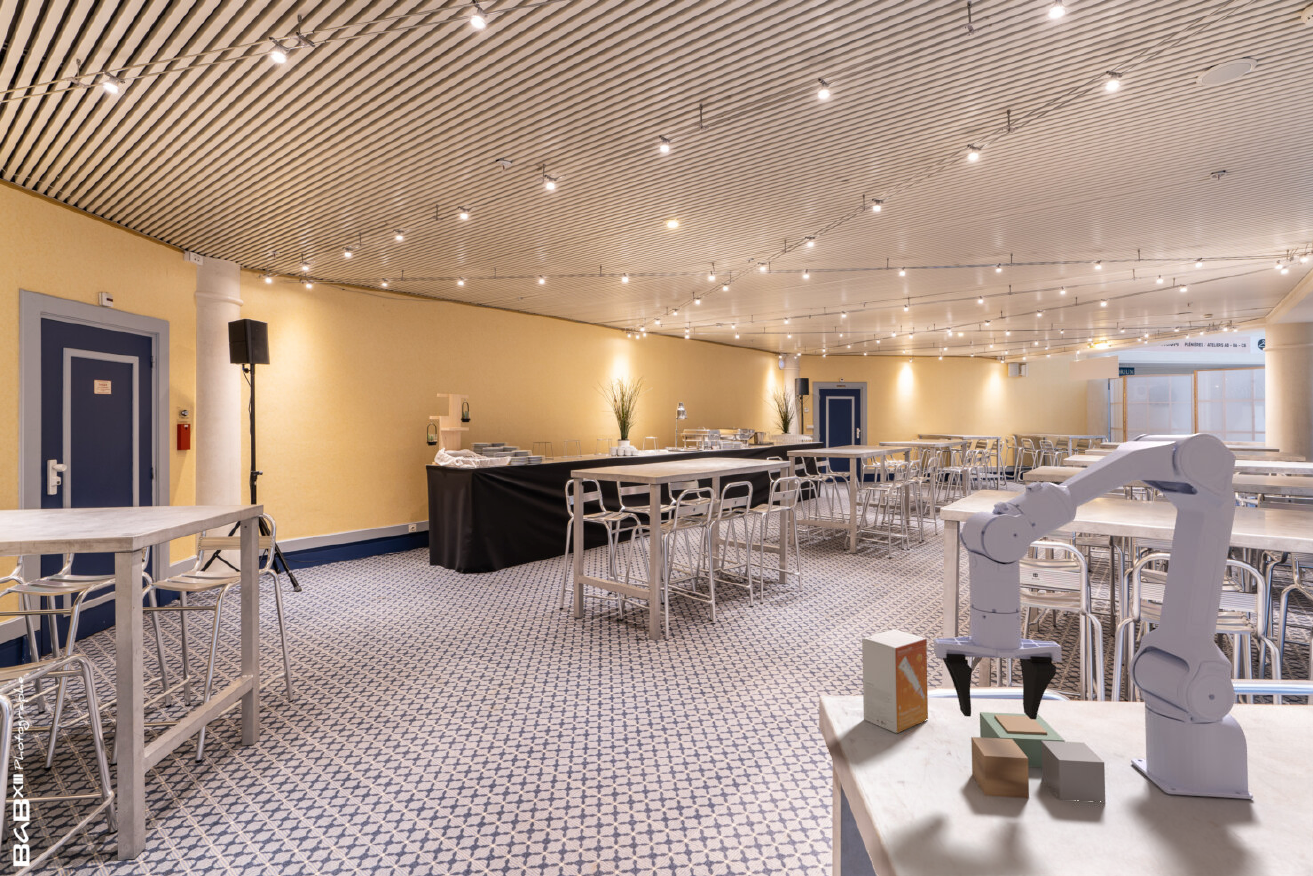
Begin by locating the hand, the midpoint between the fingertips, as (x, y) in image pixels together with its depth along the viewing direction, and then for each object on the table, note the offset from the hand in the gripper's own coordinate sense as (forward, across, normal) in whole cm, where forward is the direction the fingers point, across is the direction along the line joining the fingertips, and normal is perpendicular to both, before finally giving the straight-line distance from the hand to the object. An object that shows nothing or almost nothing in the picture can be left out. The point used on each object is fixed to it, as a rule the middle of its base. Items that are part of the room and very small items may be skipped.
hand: (997, 714), depth 81 cm
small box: (+9, -9, +18) cm, 22 cm away
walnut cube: (+9, 0, 0) cm, 9 cm away
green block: (+9, +6, +10) cm, 15 cm away
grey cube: (+9, +8, 0) cm, 12 cm away
